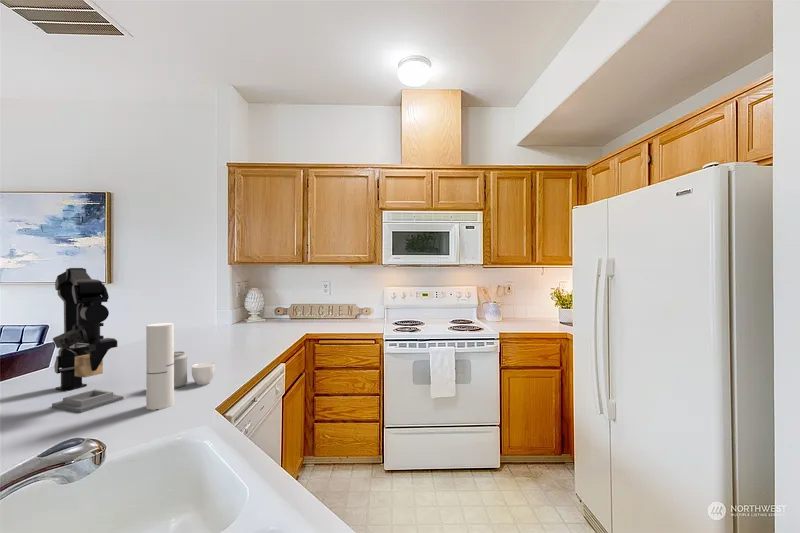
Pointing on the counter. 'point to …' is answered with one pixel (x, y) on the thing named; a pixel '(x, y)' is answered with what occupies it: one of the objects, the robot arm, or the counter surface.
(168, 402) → the cylindrical container
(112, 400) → the grey tray
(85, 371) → the oak block
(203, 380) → the cup
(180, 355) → the can
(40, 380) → the counter surface
